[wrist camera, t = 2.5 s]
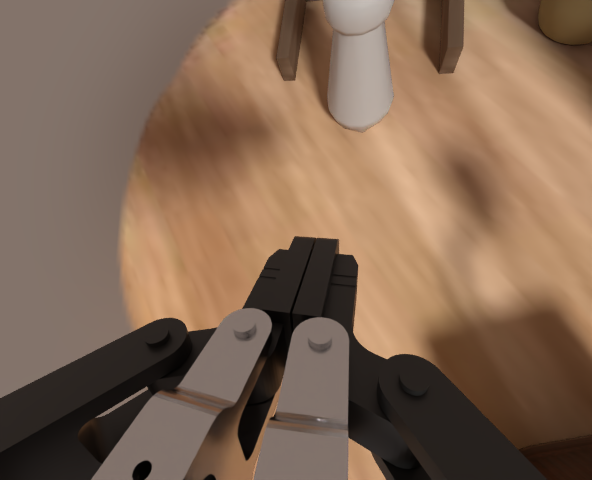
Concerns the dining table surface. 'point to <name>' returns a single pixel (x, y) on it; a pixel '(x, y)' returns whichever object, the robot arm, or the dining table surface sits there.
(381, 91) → the salt shaker
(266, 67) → the dining table surface
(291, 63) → the walnut bay
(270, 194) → the dining table surface
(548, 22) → the squeeze bottle
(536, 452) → the manual coffee grinder
